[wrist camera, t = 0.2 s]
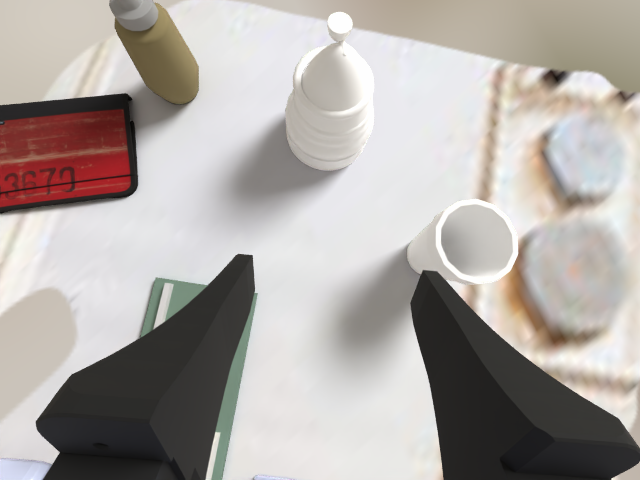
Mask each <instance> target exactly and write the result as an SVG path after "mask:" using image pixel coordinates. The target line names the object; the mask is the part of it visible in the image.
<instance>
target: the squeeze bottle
mask: <svg viewBox="0 0 640 480" xmlns="http://www.w3.org/2000/svg"><path fill="white" fill-rule="evenodd" d="M109 6H110V8H111V11H112V13H113V14H114V16H115V29H116V32H117V34H118V36H119V38H120V40H121V41H122V43H123V45H124V47H125V49H126V50H127V52H128V54H129V56H130V58H131V59H132V61H133V63H134V65H135V67H136V68H137V70H138V72H139V74H140V75H141V77H142V79H143V81H144V83H145V84H146V86H147V87H148V88H149V89H151V90H152V91H153V92H154V93H156V94H157V95H159V96H160V97H162V98H164V99H165V100H167V101H168V102H171V103H174V104H185V103H187V102H190V101H191V100H192V99H194V98H195V97H196V95H197V93H198V91H199V67H198V65H197V62H196V60H195V58H194V57H193V55H192V53H191V51H190V50H189V48H188V46H187V45H186V43H185V41H184V39H183V38H182V36H181V34H180V33H179V31H178V29H177V28H176V26H175V24H174V22H173V21H172V19H171V17H170V16H169V14H168V12H167V11H166V10H165V9H164V8H163V7H162V6H161V5H159V4H158V3H154V1H153V0H110V3H109Z"/></svg>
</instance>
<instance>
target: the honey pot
mask: <svg viewBox="0 0 640 480" xmlns="http://www.w3.org/2000/svg"><path fill="white" fill-rule="evenodd" d="M352 25H353V23H352V19H351V18H350V16H349V15H347V14H345V13H343V12H336V13H333V14H331V15H330V17H329V18H328V32H329V34H330V36H331V38H332V39H333V40H334V41H337V42H338V43H333V44H331V45H329V46H323V47H319V48H316V49H314V50H312V51H310V52H308V53H307V54H306V55H305V56H304V57H302V58H301V60H300V61H299V63H298V64H297V66H296V68H295V72H294V75H293V88H294V89H293V91H292V93H291V94H290V96H289V99H288V102H287V106H286V109H285V114H286V133H287V140H288V143H289V146H290V148H291V150H292V151H293V153H294V154H295V156H296V157H297V158H298V159H299V160H301V161H302V162H303V163H304V164H306V165H308V166H310V167H312V168H315V169H319V170H323V171H332V170H338V169H341V168H345V167H346V166H348V165H350V164H352V163H353V162H354V161H355V160H356V159H357V158H358V157H359V156H360V155H361V153H362V151H363V149H364V147H365V145H366V143H367V141H368V138H369V136H370V133H371V132H372V128H373V123H374V110H373V100H372V95H373V91H374V78H373V75H372V72H371V69H370V67H369V66H368V65H367V63H366V62H365V60H364V59H363V58H361V57H360V56H359V55H358V54H357V52H356V51H355V50H354V49H353V48H352V47H351V46H349V45H348V44H346V43H345V39H346V38H347V37H348V35H349V34H350V32H351V29H352ZM309 63H310V64H309ZM308 64H309V65H308ZM307 65H308V66H307ZM306 67H307V68H306ZM305 68H306V70H305ZM304 70H305V71H304ZM303 71H304V73H303Z"/></svg>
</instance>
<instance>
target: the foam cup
mask: <svg viewBox="0 0 640 480" xmlns="http://www.w3.org/2000/svg"><path fill="white" fill-rule="evenodd" d="M517 255H518V238H517V233H516V231H515V229H514V227H513V225H512V223H511V221H510V219H509V217H508V216H507V215H505V214H504V213H503V212H502V211H501V210H500V209H499V208H498V207H496V206H495V205H494V204H491V203H488V202H485V201H481V200H478V199H472V200H463V201H458V202H456V203H455V204H453V205H451V206H449V207H448V208H446V209H445V210H443V211H442V212H440V213H439V214H438V215H436V216H435V217H434V219H433V221H432V222H431V223H430V224H429V225H428V226H427V227H426V228H424V229H423V230H422V231H421V232H420V233H419V234H418V235H417V236H416V237H415V238H414V239H413V240H412V241H411V243H410V245H409V247H408V248H407V260H408V262H409V264H410V267H411V268H412V269H413V270H415V271H416V272H417V273H418V274H422V271H423V270H429V271H438V273H439V274H440V275H441V276H442V277H443V278H444V279H445V280H450V281H455V282H459V283H462V284H465V285H472V284H482V283H489V282H496V281H497V280H499V279H500V278H501V277H503V276H504V275H505V274H507V273H508V272H509V271H511V269H512V266H513V264H514V262H515V260H516V257H517Z"/></svg>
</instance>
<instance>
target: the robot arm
mask: <svg viewBox="0 0 640 480" xmlns="http://www.w3.org/2000/svg"><path fill="white" fill-rule="evenodd" d="M254 292H255V283H254V269H253V255H244V254H237V255H236V256H235V257H234V258H233V259H232V261H231V262H230V263H229V264H228V265H227V266H226V267H225V268H224V269H223V270H222V271H221V272H220V273H219V275H218V276H217V277H216V278H215V279H214V280H213V281H212V282H211V283H210V284H209V285H208V286H207V287H206V288H204V289H203V290H202V291H201V292H200V293H199V294H198V295H197V296H196V297H195V298H193V299H192V300H191V301H190V302H189V303H188V304H187V305H185V306H184V307H183V308H182V309H180V310H179V311H178V312H177V313H175V314H174V315H173V316H171V317H170V318H169V319H167V320H166V321H165V322H163V323H162V324H160V325H159V326H158V327H156V328H155V329H153V330H152V331H150V332H149V333H147V334H146V335H144V336H143V337H141V338H139V339H138V340H136V341H134V342H133V343H131V344H129V345H128V346H126V347H124V348H122V349H121V350H119V351H117V352H115V353H114V354H112V355H110V356H108V357H106V358H104V359H102V360H100V361H98V362H96V363H94V364H92V365H90V366H88V367H86V368H84V369H82V370H80V371H78V372H76V373H74V374H72V375H71V376H70V377H69V378H68V380H67V381H66V382H65V383H64V384H63V386H62V387H61V388H60V389H59V391H58V392H57V393H56V395H55V396H54V398H53V399H52V400H51V402H50V403H49V404H48V406H47V407H46V408H45V410H44V411H43V413H42V414H41V415H40V417H39V418H38V419H37V421H36V427H37V430H38V432H39V433H40V434H41V435H42V436H43V437H44V438H45V439H46V440H47V441H48V442H49V443H50V444H51V445H53V446H54V447H55V448H56V449H57V450H58V451H59V452H60V453H59V455H58V457H57V458H56V460H55V461H54V463H53V464H50V463H46V462H43V461H36V460H24V459H11V458H1V459H0V480H206V475H207V470H208V465H209V460H210V455H211V450H212V445H213V440H214V436H215V431H216V427H217V422H218V418H219V413H220V409H221V405H222V401H223V396H224V392H225V388H226V384H227V380H228V376H229V372H230V368H231V365H232V362H233V359H234V356H235V353H236V350H237V347H238V345H239V342H240V339H241V336H242V333H243V331H244V328H245V325H246V322H247V319H248V316H249V314H250V310H251V306H252V302H253V297H254ZM411 311H412V318H413V325H414V329H415V332H416V336H417V340H418V343H419V347H420V350H421V354H422V357H423V361H424V364H425V368H426V371H427V375H428V379H429V383H430V388H431V393H432V399H433V405H434V410H435V417H436V423H437V430H438V437H439V444H440V452H441V460H442V469H443V478H444V480H611V478H613V477H615V476H617V475H619V474H620V473H623V472H625V471H627V470H628V469H630V468H632V467H634V466H635V465H636V464H638V463H639V461H640V448H639V446H638V445H637V444H636V442H635V441H634V439H633V438H632V437H631V435H630V434H629V432H628V431H627V430H626V428H625V427H624V425H623V424H622V423H621V421H620V420H619V419H618V418H617V417H615V416H613V415H612V414H610V413H608V412H607V411H605V410H603V409H602V408H600V407H598V406H597V405H595V404H593V403H592V402H590V401H588V400H587V399H585V398H583V397H581V396H580V395H578V394H577V393H575V392H574V391H572V390H571V389H569V388H568V387H566V386H565V385H563V384H562V383H560V382H559V381H557V380H556V379H554V378H553V377H551V376H550V375H548V374H547V373H546V372H544V371H543V370H541V369H540V368H539V367H537V366H536V365H535V364H533V363H532V362H531V361H529V360H528V359H527V358H525V357H524V356H523V355H522V354H520V353H519V352H518V351H517V350H515V349H514V348H513V347H512V346H511V345H509V344H508V343H507V342H506V341H505V340H504V339H502V338H501V337H500V336H499V335H498V334H497V333H496V332H495V331H493V330H492V329H491V328H490V327H489V326H488V325H487V324H486V323H485V322H484V321H483V320H482V319H481V318H480V317H479V316H478V315H477V314H476V313H475V312H474V311H473V310H472V309H471V308H470V307H469V306H468V305H467V304H466V302H465V301H464V300H463V299H462V298H461V297H460V296H459V295H458V294H457V293H456V291H455V290H454V289H453V288H452V287H451V286H450V285H449V284H448V282H447V281H446V280H445V279H444V278H443V277H442V276H441V275H440V274H439V273H438V271H429V270H423V271H422V274H421V276H420V279H419V282H418V284H417V287H416V290H415V292H414V295H413V298H412V300H411ZM254 480H292V479H285V478H277V477H270V476H262V475H256V476H255V477H254Z"/></svg>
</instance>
